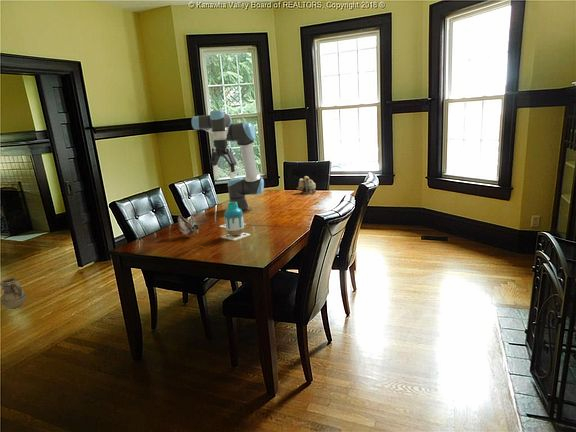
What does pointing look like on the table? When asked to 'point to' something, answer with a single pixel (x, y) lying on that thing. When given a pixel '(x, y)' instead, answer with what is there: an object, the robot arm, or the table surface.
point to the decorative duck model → (186, 226)
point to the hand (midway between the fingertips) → (224, 177)
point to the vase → (234, 219)
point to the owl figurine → (306, 186)
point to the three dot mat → (225, 226)
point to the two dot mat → (235, 236)
